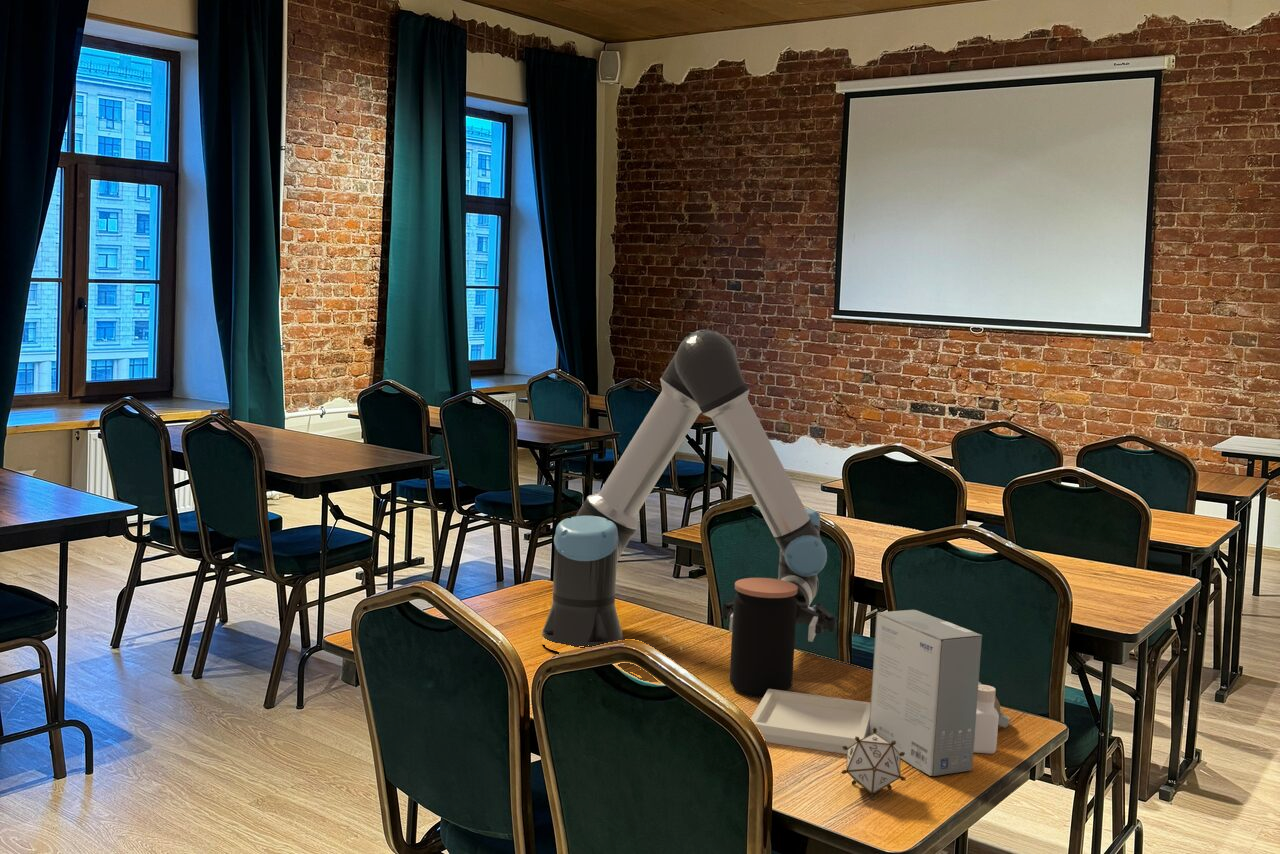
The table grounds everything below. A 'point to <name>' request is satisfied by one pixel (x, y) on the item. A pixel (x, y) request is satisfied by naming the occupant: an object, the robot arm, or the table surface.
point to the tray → (811, 720)
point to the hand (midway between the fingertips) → (770, 629)
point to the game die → (873, 763)
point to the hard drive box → (926, 690)
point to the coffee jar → (763, 636)
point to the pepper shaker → (986, 721)
